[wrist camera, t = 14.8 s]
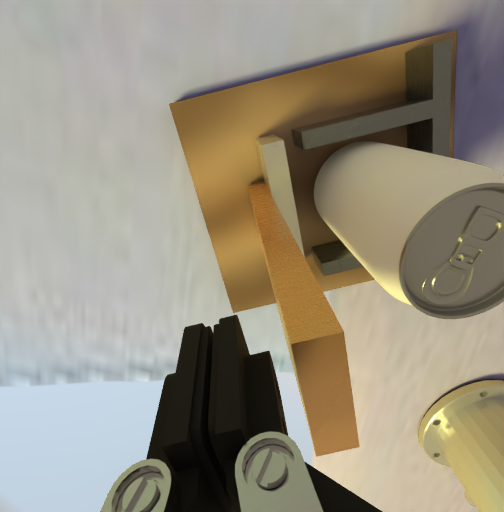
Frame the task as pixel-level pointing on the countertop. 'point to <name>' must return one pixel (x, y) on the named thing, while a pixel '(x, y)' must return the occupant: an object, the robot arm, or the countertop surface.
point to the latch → (303, 307)
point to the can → (419, 224)
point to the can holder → (406, 112)
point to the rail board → (299, 161)
